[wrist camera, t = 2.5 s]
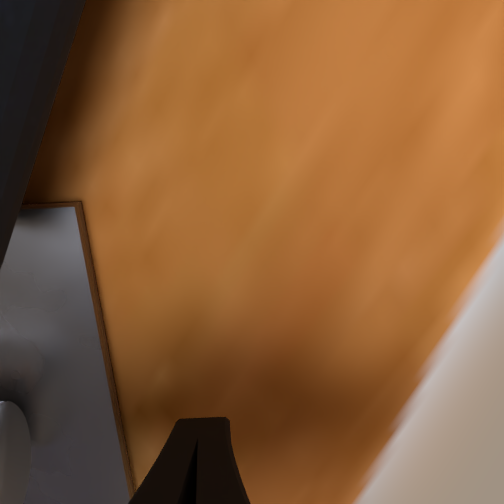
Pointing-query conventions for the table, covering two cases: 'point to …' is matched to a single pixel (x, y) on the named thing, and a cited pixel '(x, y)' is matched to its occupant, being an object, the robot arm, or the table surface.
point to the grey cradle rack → (60, 361)
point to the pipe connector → (28, 90)
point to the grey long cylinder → (13, 454)
